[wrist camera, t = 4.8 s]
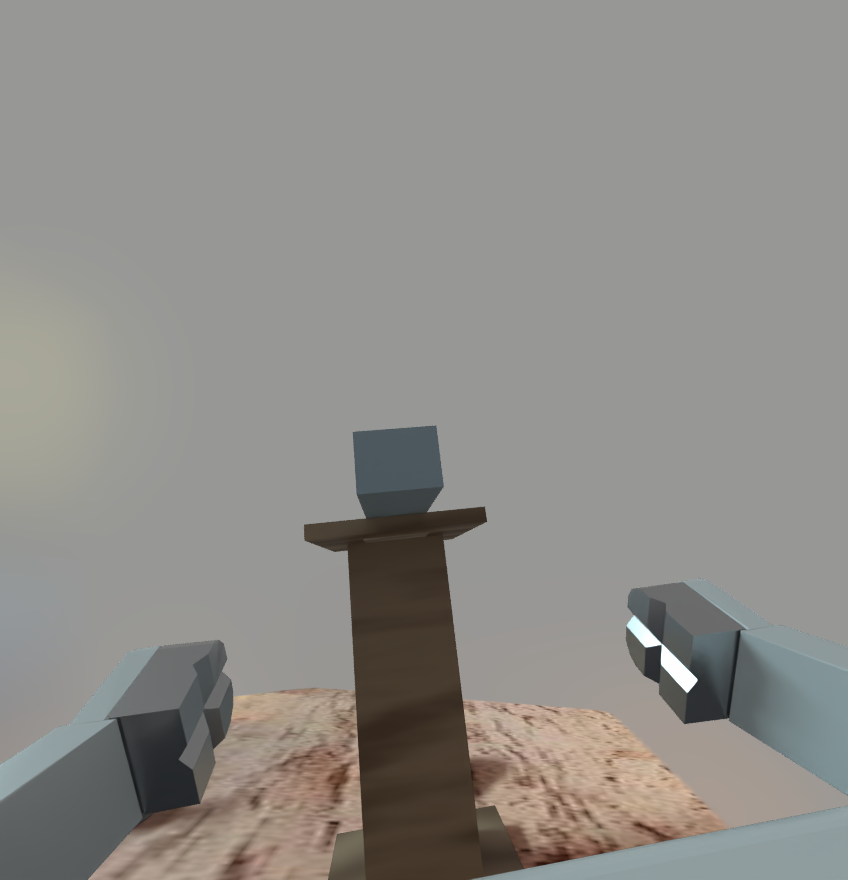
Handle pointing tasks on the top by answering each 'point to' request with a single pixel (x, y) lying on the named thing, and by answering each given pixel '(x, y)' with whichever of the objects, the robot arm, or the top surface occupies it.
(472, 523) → the shelf stand
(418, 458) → the batten
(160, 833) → the top surface
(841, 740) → the robot arm
